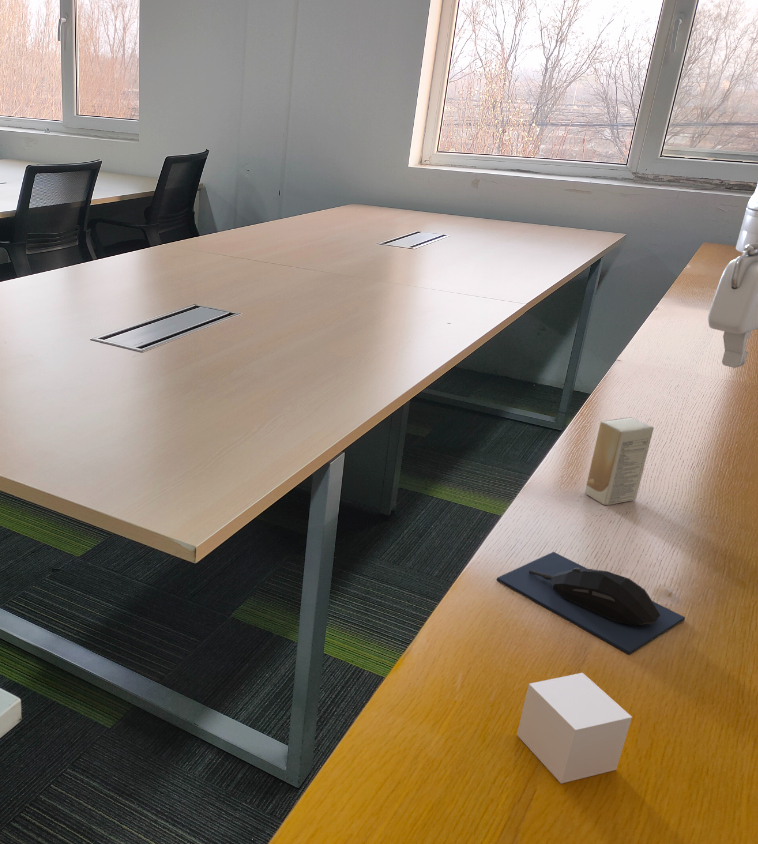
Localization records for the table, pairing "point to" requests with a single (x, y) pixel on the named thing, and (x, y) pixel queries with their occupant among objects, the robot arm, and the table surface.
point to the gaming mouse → (605, 594)
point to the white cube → (573, 727)
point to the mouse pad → (596, 624)
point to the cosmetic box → (618, 460)
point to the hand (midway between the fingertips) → (751, 359)
